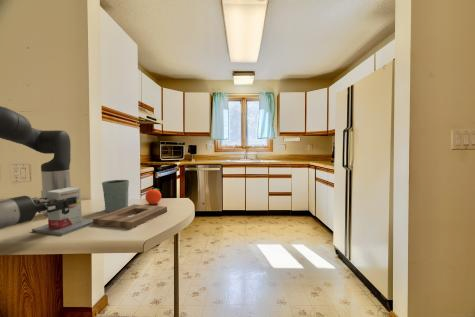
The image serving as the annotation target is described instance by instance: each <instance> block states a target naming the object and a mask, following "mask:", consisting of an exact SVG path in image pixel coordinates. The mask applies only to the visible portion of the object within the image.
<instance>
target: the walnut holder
mask: <svg viewBox="0 0 475 317" xmlns="http://www.w3.org/2000/svg"><path fill="white" fill-rule="evenodd" d="M167 212H168V207H167V206H163V205H151V204H149V205H147V204H135V203H134V204H132V205H128V207H125V208H122V209H119V210H116V211H114V212H107V213H106V214H102V215H100V216H96V217H94V218H92V219H93V224H92V225H97V226H104V227H105V226H106V227H112V228H113V227H114V228H124V229H134V228H136V227H138V226H140V225H142V224H144V223H146V222H149V221H150V220H152V219H154V218H157V217H158V216H161V215H163V214H165V213H167Z"/></svg>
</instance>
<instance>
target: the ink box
mask: <svg viewBox="0 0 475 317" xmlns="http://www.w3.org/2000/svg"><path fill="white" fill-rule="evenodd" d="M46 194H47V199H57V200H60V199H66V198H71V197H76V198H77V203H76V204H72V205H69V208H66V209H62V210H58V211H54V212H51V213H48V215H47V224H48V227H49V228H59V229H61V228H64V227H66V226H69V225H72V224H75V223H77V222H80V221H82V218H83V215H82V214H83V213H82V212H83V211H82V194H81V188H80V187H71V188H63V189H58V190H53V191H48V192H47V193H46ZM51 203H53V201H51ZM61 205H62V203H61Z"/></svg>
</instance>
